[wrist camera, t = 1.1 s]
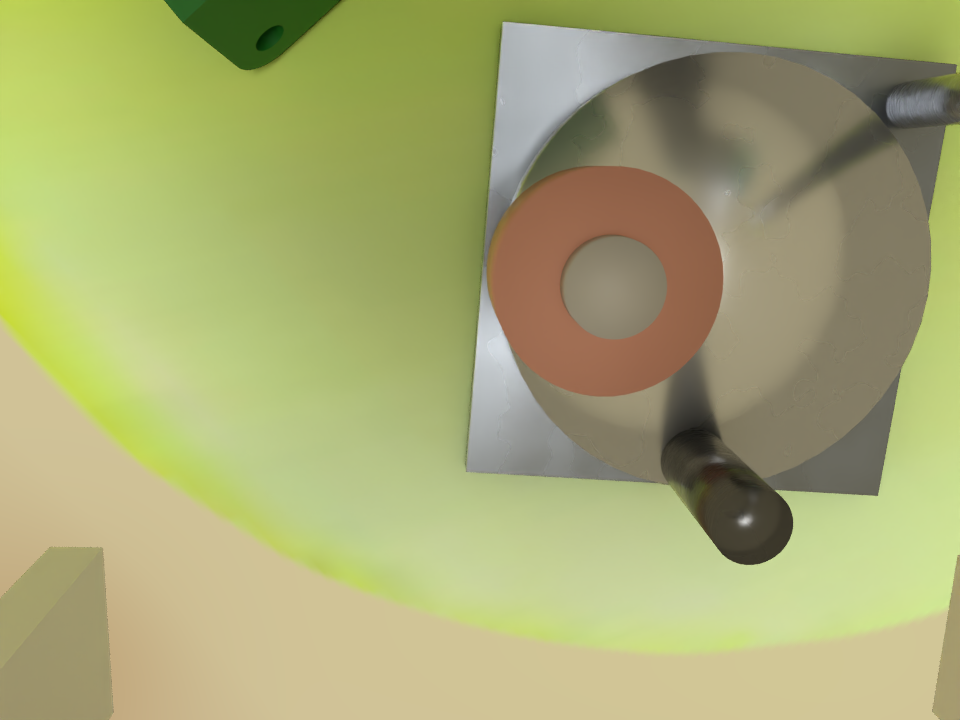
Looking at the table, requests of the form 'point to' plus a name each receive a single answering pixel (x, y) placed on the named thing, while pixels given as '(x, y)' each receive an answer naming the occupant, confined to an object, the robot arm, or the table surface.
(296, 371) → the table surface
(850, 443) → the turntable base
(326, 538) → the table surface
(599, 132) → the turntable
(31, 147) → the table surface
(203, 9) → the clamp
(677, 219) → the cover
